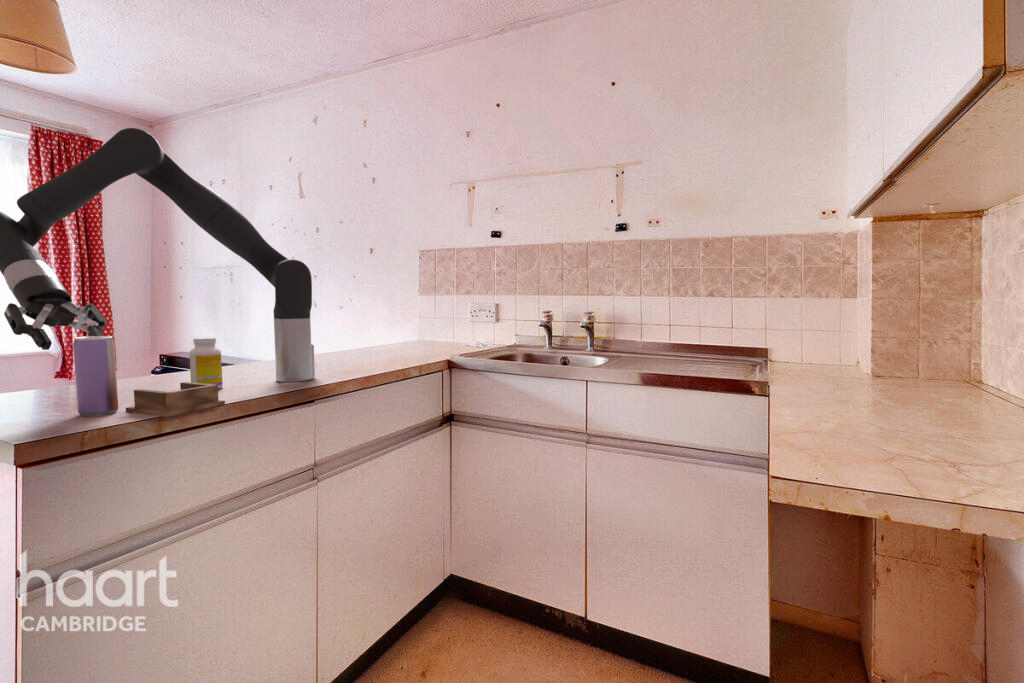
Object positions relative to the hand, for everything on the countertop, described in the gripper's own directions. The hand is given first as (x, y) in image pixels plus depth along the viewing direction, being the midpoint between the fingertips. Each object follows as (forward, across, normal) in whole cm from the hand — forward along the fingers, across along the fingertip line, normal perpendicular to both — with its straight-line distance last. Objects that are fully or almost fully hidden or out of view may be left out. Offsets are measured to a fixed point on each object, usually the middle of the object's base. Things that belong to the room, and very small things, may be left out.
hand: (75, 345), depth 94 cm
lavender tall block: (+14, 0, +5) cm, 15 cm away
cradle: (+20, +9, -1) cm, 22 cm away
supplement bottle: (+10, +26, +9) cm, 29 cm away
